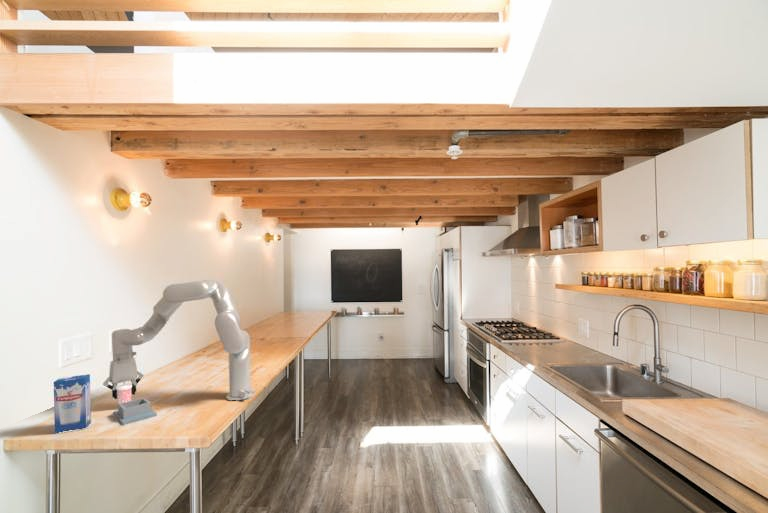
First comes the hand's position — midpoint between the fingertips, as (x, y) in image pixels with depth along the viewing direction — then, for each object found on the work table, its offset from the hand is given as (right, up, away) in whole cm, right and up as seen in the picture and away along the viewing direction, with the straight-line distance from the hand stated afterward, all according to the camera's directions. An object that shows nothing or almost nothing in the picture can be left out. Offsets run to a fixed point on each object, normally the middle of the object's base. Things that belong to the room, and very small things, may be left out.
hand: (124, 395), depth 171 cm
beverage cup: (0, -5, 0) cm, 5 cm away
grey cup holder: (+11, -4, -10) cm, 16 cm away
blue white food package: (-6, -5, -22) cm, 23 cm away
